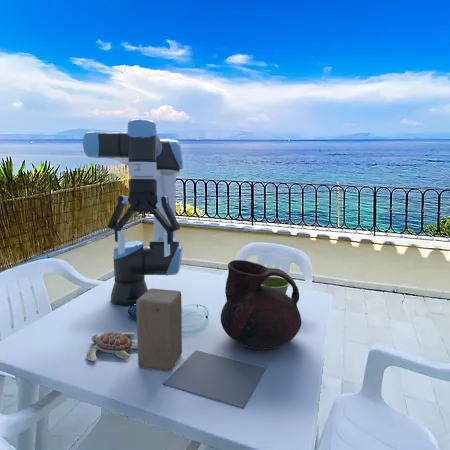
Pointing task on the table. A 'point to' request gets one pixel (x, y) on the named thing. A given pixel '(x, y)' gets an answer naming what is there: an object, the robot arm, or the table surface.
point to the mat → (217, 378)
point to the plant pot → (276, 283)
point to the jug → (259, 307)
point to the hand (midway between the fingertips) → (144, 254)
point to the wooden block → (159, 329)
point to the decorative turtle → (111, 344)
